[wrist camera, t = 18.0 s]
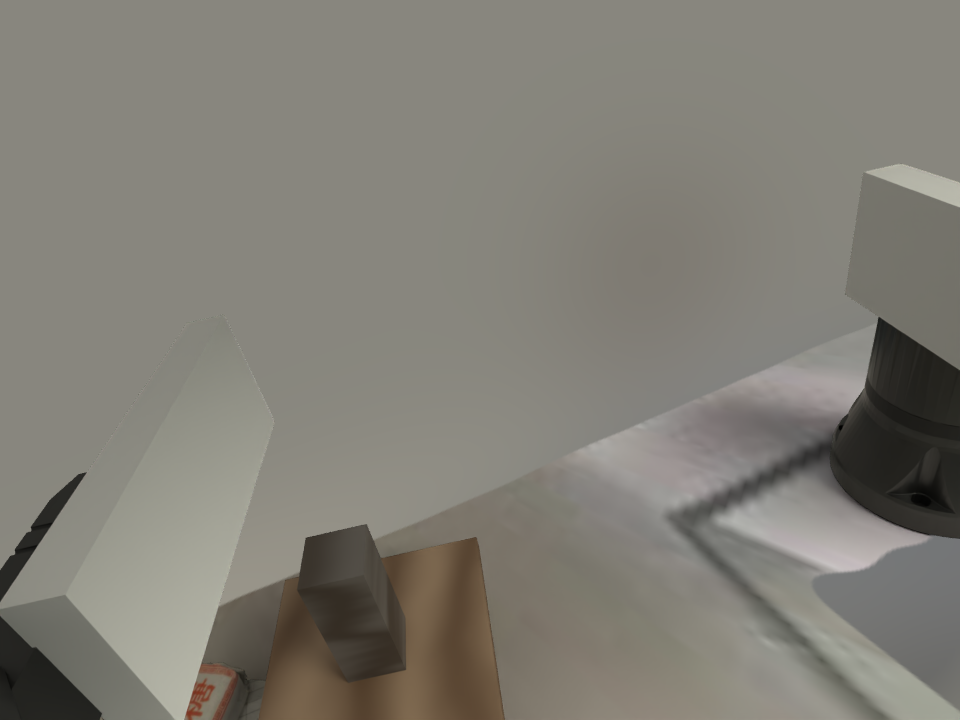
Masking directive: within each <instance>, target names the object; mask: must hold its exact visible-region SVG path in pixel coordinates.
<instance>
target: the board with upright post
mask: <svg viewBox="0 0 960 720" xmlns="http://www.w3.org/2000/svg"><path fill="white" fill-rule="evenodd" d="M258 720H505V718H504V711H503V705H502V698H501V691H500V685H499V678H498V671H497V664H496V658H495V651H494V644H493V638H492V631H491V624H490V617H489V611H488V604H487V597H486V591H485V584H484V577H483V570H482V564H481V557H480V550H479V545H478V541H477V538H476V537H474V538H470V539H465V540H461V541H456V542H452V543H448V544H443V545H439V546H434V547H430V548H425V549H421V550H417V551H412V552H408V553H403V554H399V555H394V556H390V557H386V558H380V555H379V553H378V551H377V548H376V546H375V543H374V541H373V539H372V536H371V534H370V531H369V529H368V527H367V525H361V526H356V527H352V528H347V529H343V530H338V531H334V532H329V533H325V534H321V535H317V536H312V537H307V538H306V540H305V546H304V552H303V558H302V563H301V570H300V575H299V577H297V578H292V579H288V580H285V584H284V590H283V595H282V600H281V605H280V610H279V615H278V620H277V626H276V631H275V636H274V641H273V646H272V651H271V656H270V662H269V667H268V672H267V677H266V682H265V687H264V692H263V698H262V703H261V708H260V713H259V718H258Z"/></svg>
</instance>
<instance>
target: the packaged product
mask: <svg viewBox="0 0 960 720" xmlns="http://www.w3.org/2000/svg"><path fill="white" fill-rule="evenodd" d="M246 678H247V675H246V674H245V671H244V670H242V669H240V668H232V667H230V666H228V665H226V664H225V663H215V664H213V663H207V664H204V663H201V666H200V669H199V672H198V676H197V679H196V682H195V685H194V689H193V692H192V695H191V699H190V702H189V705H188V709H187V712H186V715H185V718H184V720H258V718H259V713H260V708H261V703H262V698H263V692H264V687H265V682H266V681H264V680H247V679H246Z"/></svg>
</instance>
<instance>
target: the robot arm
mask: <svg viewBox="0 0 960 720" xmlns="http://www.w3.org/2000/svg"><path fill="white" fill-rule="evenodd" d="M845 295H847V296H848V297H850V298H851V299H853V300H854V301H856V302H857V303H859V304H860V305H862V306H863V307H865V308H867V309H868V310H870V311H871V312H873V313H874V314H875V315H877V316H879V318H878V323H877V328H876V333H875V338H874V343H873V348H872V353H871V357H870V362H869V367H868V373H867V378H866V383H865V388H864V389H863V391H862V392H861V394H860V395H859V396H858V398H857V399H856V401H855V402H854V404H853V405H852V407H851V409H850V411H849V413H848V414H847V415H846V416H845V417H844V418H843V419H842V420H841V422H840V423H839V424H838V426H837V428H836V430H835V432H834V435H833V439H832V445H831V451H830V464H831V468H832V471H833V473H834V475H835V477H836V479H837V481H838V482H839V483H840V485H841V486H842V487H843V488H844V490H845V491H846V492H847V493H848V494H849V495H850V496H851V497H853V498H854V499H855V500H856V501H857V502H859V503H860V504H861V505H863V506H864V507H866V508H867V509H869V510H870V511H872V512H874V513H875V514H877V515H879V516H881V517H883V518H885V519H887V520H889V521H891V522H893V523H896V524H898V525H901V526H904V527H906V528H909V529H912V530H916V531H919V532H923V533H927V534H931V535H936V536H942V537H949V538H959V539H960V183H959V182H956V181H953V180H950V179H947V178H944V177H941V176H938V175H935V174H932V173H928V172H925V171H922V170H919V169H916V168H913V167H910V166H907V165H904V164H897V165H892V166H888V167H883V168H879V169H874V170H870V171H865V172H863V178H862V185H861V191H860V198H859V204H858V212H857V218H856V225H855V231H854V238H853V244H852V252H851V258H850V264H849V271H848V278H847V284H846V291H845ZM273 425H274V419H273V417H272V415H271V413H270V410H269V408H268V406H267V404H266V402H265V400H264V398H263V396H262V394H261V391H260V389H259V387H258V385H257V383H256V381H255V379H254V377H253V374H252V372H251V370H250V368H249V366H248V364H247V362H246V360H245V358H244V355H243V353H242V351H241V349H240V347H239V345H238V343H237V341H236V339H235V336H234V334H233V332H232V330H231V328H230V326H229V324H228V322H227V319H226V318H225V315H220V316H216V317H211V318H207V319H202V320H198V321H193V322H189V323H187V324H186V325H185V327H184V328H183V330H182V331H181V333H180V334H179V336H178V337H177V339H176V340H175V342H174V343H173V345H172V346H171V348H170V349H169V351H168V352H167V354H166V355H165V357H164V358H163V360H162V361H161V363H160V364H159V366H158V367H157V369H156V370H155V371H154V373H153V375H152V376H151V378H150V379H149V381H148V382H147V383H146V385H145V386H144V388H143V389H142V391H141V393H140V394H139V395H138V397H137V398H136V400H135V401H134V403H133V404H132V406H131V408H130V409H129V411H128V412H127V413H126V415H125V416H124V418H123V419H122V421H121V422H120V424H119V425H118V427H117V428H116V430H115V431H114V433H113V434H112V436H111V437H110V439H109V440H108V442H107V443H106V445H105V446H104V448H103V449H102V451H101V452H100V454H99V455H98V457H97V458H96V460H95V461H94V463H93V464H92V466H91V467H90V469H89V470H88V472H86V473H82V474H78V475H77V476H76V477H75V478H74V479H73V480H72V481H71V482H69V483H68V484H67V485H66V486H65V487H64V488H63V489H62V490H60V491H59V492H58V493H57V494H56V495H55V496H54V497H53V498H52V499H51V500H50V501H49V502H48V503H47V505H46V506H45V508H44V509H43V511H42V512H41V513H40V515H39V516H38V518H37V519H36V520H35V522H34V523H33V525H32V526H31V529H32V531H31V532H28V533H26V535H25V536H24V537H23V539H22V540H21V542H20V543H19V545H18V546H17V547H16V549H15V555H12V556H10V557H9V559H8V560H7V561H6V563H5V564H4V566H3V567H2V568H1V570H0V720H100V717H102V718H103V719H104V720H184V718H185V715H186V712H187V709H188V705H189V702H190V699H191V695H192V692H193V689H194V685H195V682H196V679H197V676H198V672H199V669H200V666H201V662H202V659H203V656H204V652H205V649H206V646H207V643H208V639H209V636H210V633H211V629H212V626H213V623H214V620H215V616H216V613H217V610H218V606H219V603H220V600H221V596H222V593H223V590H224V587H225V583H226V580H227V577H228V573H229V570H230V567H231V563H232V560H233V557H234V553H235V550H236V547H237V543H238V540H239V537H240V534H241V530H242V527H243V523H244V520H245V517H246V514H247V511H248V507H249V504H250V501H251V498H252V494H253V491H254V488H255V484H256V481H257V478H258V474H259V471H260V468H261V464H262V461H263V458H264V455H265V451H266V448H267V445H268V441H269V438H270V435H271V431H272V428H273Z"/></svg>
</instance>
